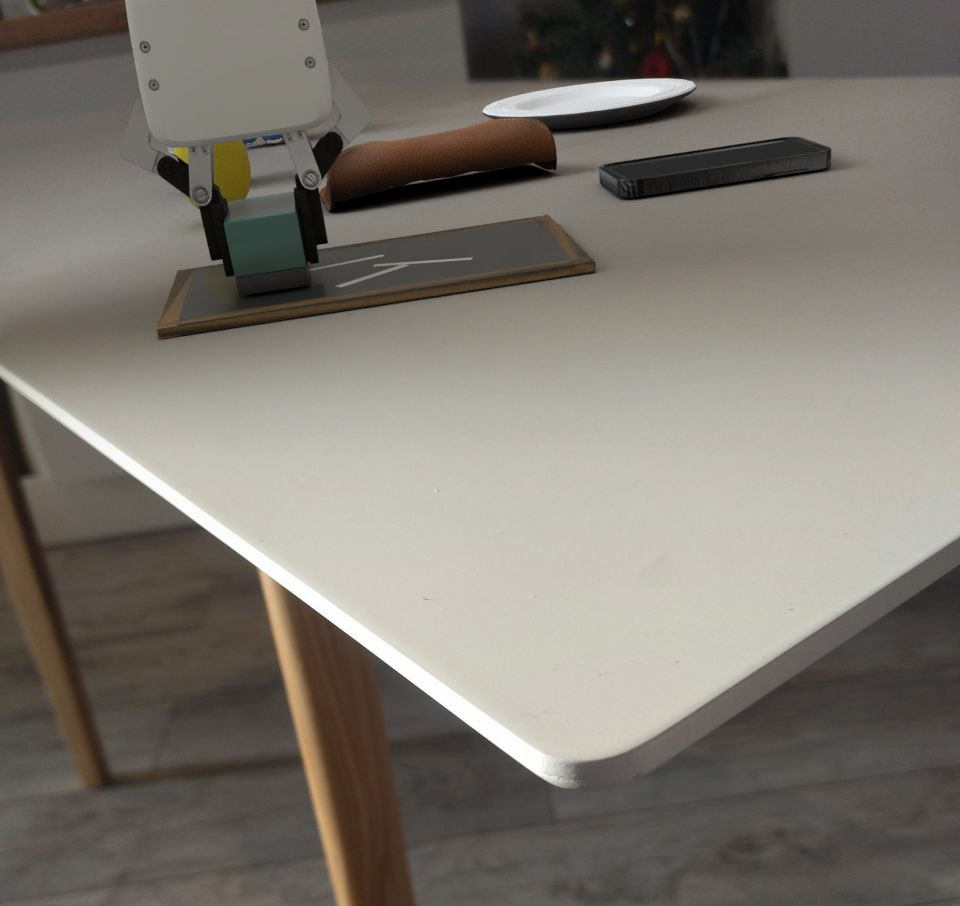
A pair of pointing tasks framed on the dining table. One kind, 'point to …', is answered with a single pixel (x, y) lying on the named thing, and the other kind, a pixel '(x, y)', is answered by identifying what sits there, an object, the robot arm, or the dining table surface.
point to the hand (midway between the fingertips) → (272, 261)
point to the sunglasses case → (438, 157)
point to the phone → (713, 166)
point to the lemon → (227, 169)
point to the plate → (593, 102)
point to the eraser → (266, 244)
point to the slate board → (381, 275)
